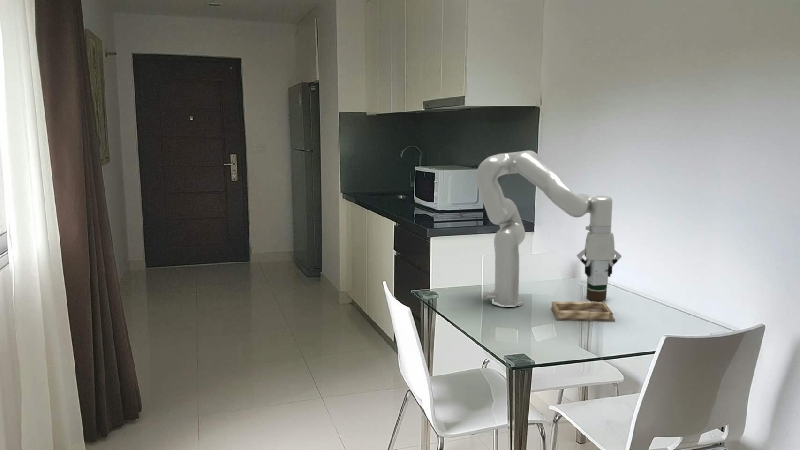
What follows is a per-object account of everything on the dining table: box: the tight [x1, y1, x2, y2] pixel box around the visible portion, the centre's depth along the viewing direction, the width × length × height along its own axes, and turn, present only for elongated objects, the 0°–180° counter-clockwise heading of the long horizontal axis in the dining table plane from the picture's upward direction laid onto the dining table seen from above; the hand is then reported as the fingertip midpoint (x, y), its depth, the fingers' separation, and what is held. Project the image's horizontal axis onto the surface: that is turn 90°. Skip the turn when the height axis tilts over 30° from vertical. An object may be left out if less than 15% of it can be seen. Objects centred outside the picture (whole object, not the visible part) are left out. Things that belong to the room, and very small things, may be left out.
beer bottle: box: [586, 276, 608, 302], centre depth 240 cm, size 8×8×24 cm
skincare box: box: [588, 260, 609, 286], centre depth 221 cm, size 6×4×12 cm
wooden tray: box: [550, 301, 616, 322], centre depth 225 cm, size 21×13×3 cm, turn 85°
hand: (598, 275), depth 221 cm, fingers closed on skincare box, 6 cm apart
